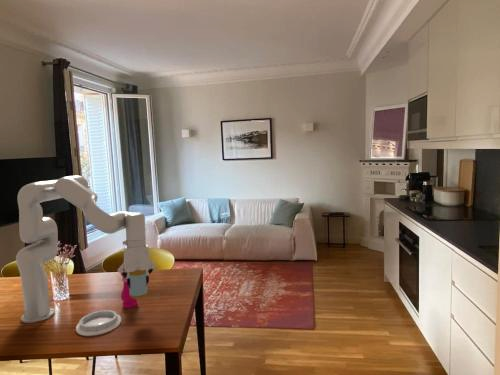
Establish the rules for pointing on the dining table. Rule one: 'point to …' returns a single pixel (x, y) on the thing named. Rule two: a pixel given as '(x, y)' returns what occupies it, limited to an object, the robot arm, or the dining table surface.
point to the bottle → (138, 282)
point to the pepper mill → (127, 295)
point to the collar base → (98, 323)
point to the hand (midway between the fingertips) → (138, 285)
